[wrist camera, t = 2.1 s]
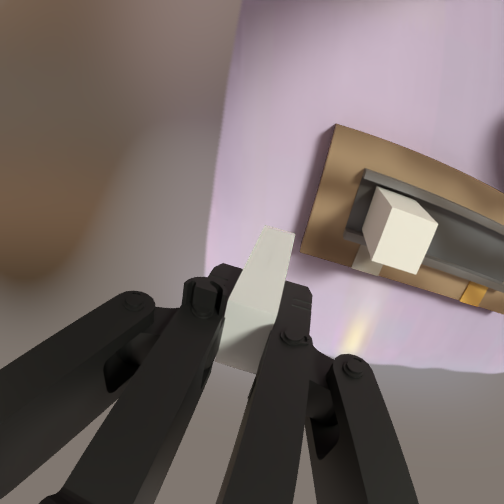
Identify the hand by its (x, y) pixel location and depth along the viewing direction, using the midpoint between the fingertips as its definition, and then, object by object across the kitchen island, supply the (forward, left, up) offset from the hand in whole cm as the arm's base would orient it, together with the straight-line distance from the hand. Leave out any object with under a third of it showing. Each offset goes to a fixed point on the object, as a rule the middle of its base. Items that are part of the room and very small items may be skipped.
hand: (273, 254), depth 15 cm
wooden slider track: (0, +16, -17) cm, 23 cm away
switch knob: (0, +9, -14) cm, 17 cm away
